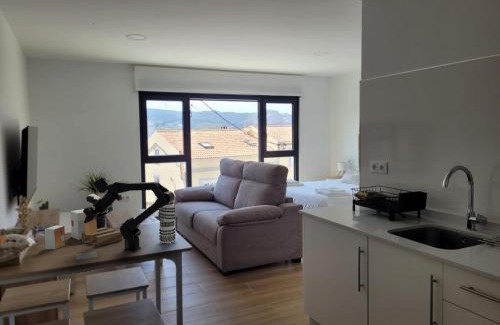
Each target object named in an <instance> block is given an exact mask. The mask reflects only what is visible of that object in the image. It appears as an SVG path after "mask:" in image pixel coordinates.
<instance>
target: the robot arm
mask: <svg viewBox="0 0 500 325" xmlns="http://www.w3.org/2000/svg"><path fill="white" fill-rule="evenodd" d="M92 187H93V188H95V190H96V191H97V192H98V193H99V194H100V195H101V194H104V195H103V196H102V197H100V196H99V195H97V194H95V193H91V194H89V195H87V196H86V198H85V200H86V202H88V203H91V204H92V206H87V207H85V208H83V209H84V210H83V212H84V213H85V214H86V218H85V221H84V223H85V224H86V223H88V222H90V221H92V220H94V219H96V220H97V219H100V218H102V217H104V216H106V215H107V214H109V213H112V211H114V210H113V209H114V208H113V204H114V202H115V201H117V202H120V201H122V200H123V197H122V193H126V192H133V191H152V193H153V195H154V196H155V197H156V199H155V201H154V202H153V204H151V205H150V206H148V208H146V209H144V211H141V212H140V214H138V215H137V216H136V217H134V216H132V217H130V218H128V219H125V221H124V222H122V223H121V225H120V226H119V231H120V232H121V234H122V240H124V248H123V251H129V252H136V251H138V250H141V249H142V246H140V237H139V236H141V233H142V231H141V230H140V228H139V227H140V226H141V224H142V223H143V222H144V221H146V220H148V219H149V217H151V216H153V214H155V213H156V212H158V211H159V209H160V208H161V207H163V206H165V205H167V204H169V203H171V202H173V201H174V202H175V199H176V196H175V194H174V192H173V191H171V190H169V189H168V188H167V187H165V186H164V185H162V184H161V183H160V182H158V181H148V182H147V181H146V182H144V181H143V182H132V181H131V182H130V181H126V180H120V181H114V182H112V183H110V182H109V181H108V180H107V179H106V177H104V176H102V177H100V178H99V179H98V180H96V181H94V183H93V184H92ZM94 209H95V210H94Z"/></svg>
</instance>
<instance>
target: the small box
mask: <svg viewBox="0 0 500 325" xmlns="http://www.w3.org/2000/svg"><path fill="white" fill-rule="evenodd" d="M65 230H66V229H65V225H58V224H57V225H56V224H55V225H53V226H50V227H47V228H45V229H44V244H45V250H56V249H59V248H62V247H65V246H66V231H65Z"/></svg>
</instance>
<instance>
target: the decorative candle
mask: <svg viewBox="0 0 500 325" xmlns="http://www.w3.org/2000/svg"><path fill="white" fill-rule="evenodd" d="M174 202H175V200H174V201H173V202H171V203H169V204H167V205H165V206H163V207H161V208H160V209H159V210H158V211H157V212H158V221H159V228H158V229H159V230H158V231H159V232H158V234H159V236H158V237H159V238H158V239H159V244H162V243H170V244H172V243H171V242H174V240H176V226H175V221H176V214H175V213H176V207H175V203H174ZM174 243H175V242H174Z"/></svg>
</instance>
